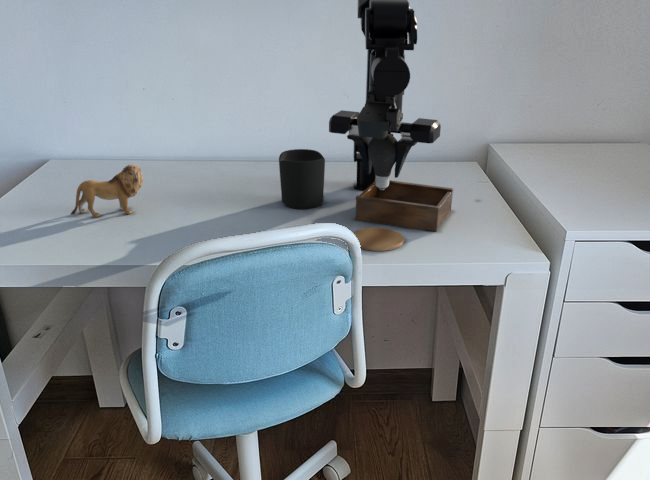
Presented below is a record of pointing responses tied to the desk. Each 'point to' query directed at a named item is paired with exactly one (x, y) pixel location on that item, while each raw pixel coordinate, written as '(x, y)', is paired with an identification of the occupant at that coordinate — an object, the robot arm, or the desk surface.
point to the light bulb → (383, 158)
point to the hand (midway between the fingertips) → (382, 175)
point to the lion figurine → (110, 190)
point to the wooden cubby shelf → (405, 205)
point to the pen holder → (302, 178)
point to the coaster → (379, 239)
